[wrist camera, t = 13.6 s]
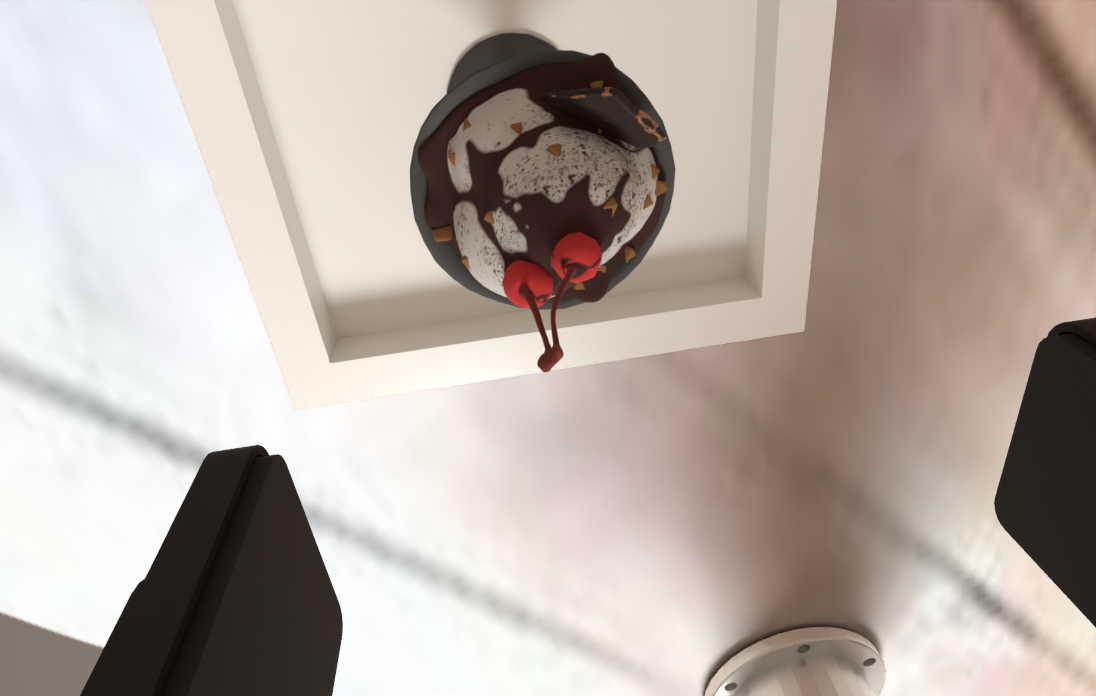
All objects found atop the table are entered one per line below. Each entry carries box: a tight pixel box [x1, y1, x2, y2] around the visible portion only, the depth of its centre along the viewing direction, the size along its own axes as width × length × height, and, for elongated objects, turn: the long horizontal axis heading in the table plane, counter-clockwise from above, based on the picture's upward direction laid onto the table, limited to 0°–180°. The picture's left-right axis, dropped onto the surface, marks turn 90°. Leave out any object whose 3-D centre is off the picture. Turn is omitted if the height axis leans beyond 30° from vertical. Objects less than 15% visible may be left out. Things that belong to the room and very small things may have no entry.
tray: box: [145, 0, 837, 410], centre depth 26 cm, size 22×22×3 cm
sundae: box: [410, 33, 676, 372], centre depth 20 cm, size 7×7×15 cm
